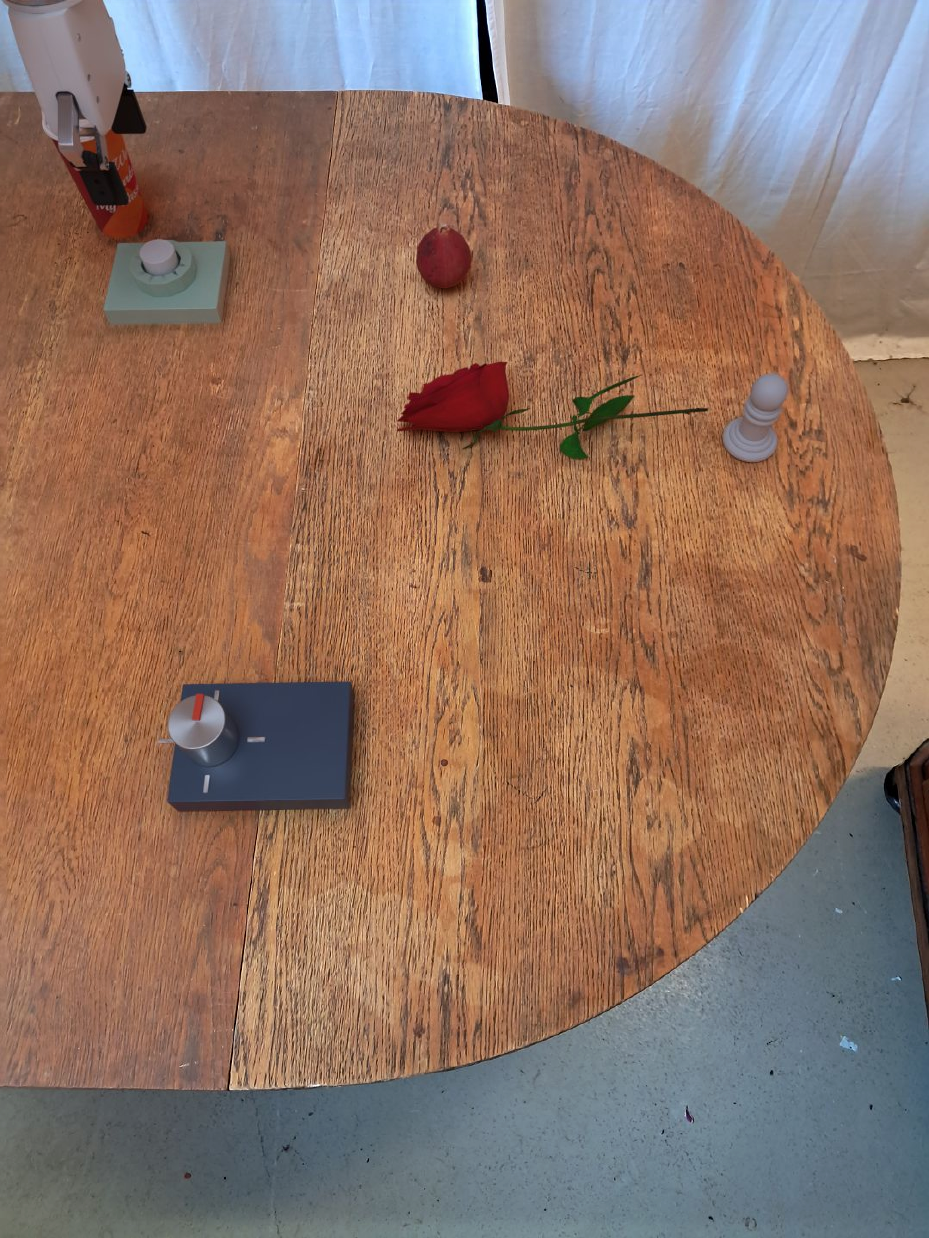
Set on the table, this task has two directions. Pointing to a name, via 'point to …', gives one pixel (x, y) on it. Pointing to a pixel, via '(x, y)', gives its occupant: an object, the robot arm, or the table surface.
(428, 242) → the red round fruit
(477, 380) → the flower
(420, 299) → the table surface
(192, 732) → the dial
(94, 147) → the paper cup
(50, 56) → the robot arm
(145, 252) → the white push button
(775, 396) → the chess piece
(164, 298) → the push button box
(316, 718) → the dial panel
